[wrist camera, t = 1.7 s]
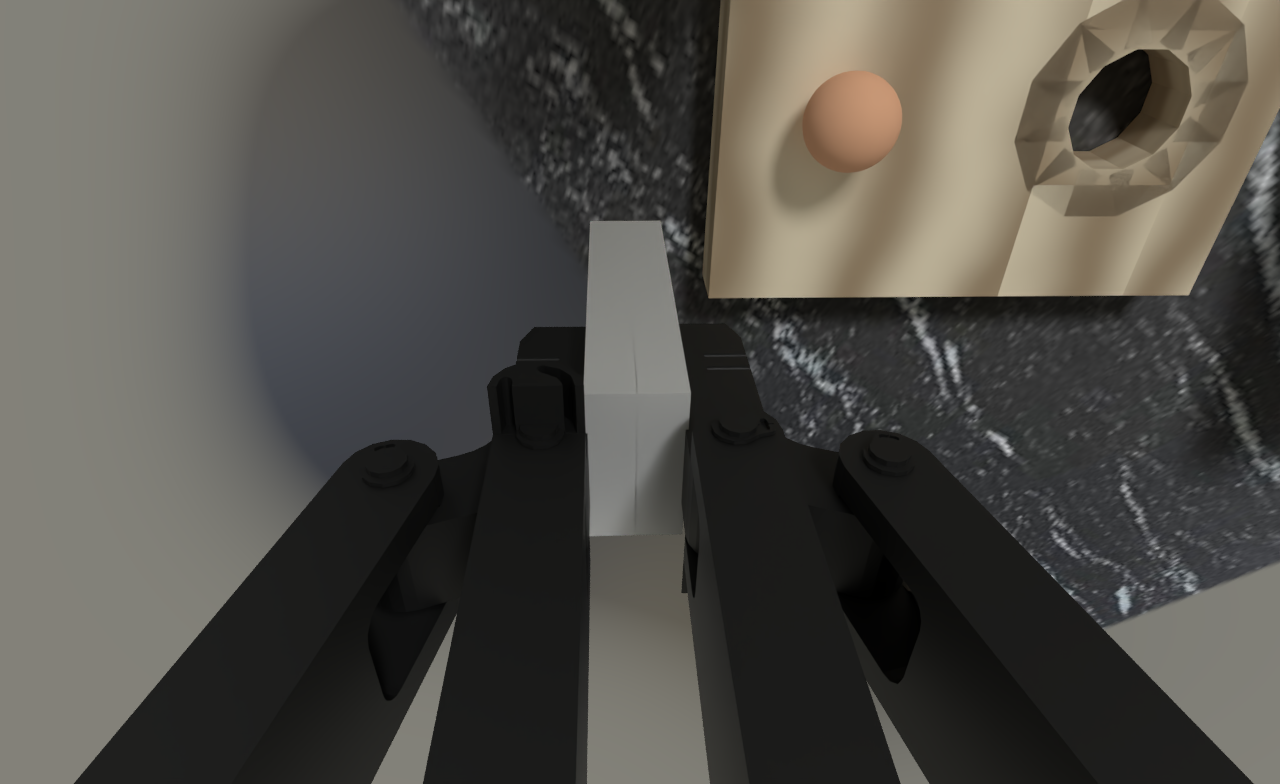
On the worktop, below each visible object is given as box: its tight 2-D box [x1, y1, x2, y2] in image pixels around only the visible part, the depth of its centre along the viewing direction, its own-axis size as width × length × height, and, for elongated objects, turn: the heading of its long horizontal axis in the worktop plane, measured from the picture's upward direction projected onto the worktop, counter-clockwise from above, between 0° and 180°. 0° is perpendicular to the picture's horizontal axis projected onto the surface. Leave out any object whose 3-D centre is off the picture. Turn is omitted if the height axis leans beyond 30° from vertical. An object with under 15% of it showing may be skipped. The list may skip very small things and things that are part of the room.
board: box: [702, 0, 1280, 298], centre depth 29 cm, size 22×16×2 cm
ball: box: [802, 71, 902, 173], centre depth 27 cm, size 4×4×4 cm
